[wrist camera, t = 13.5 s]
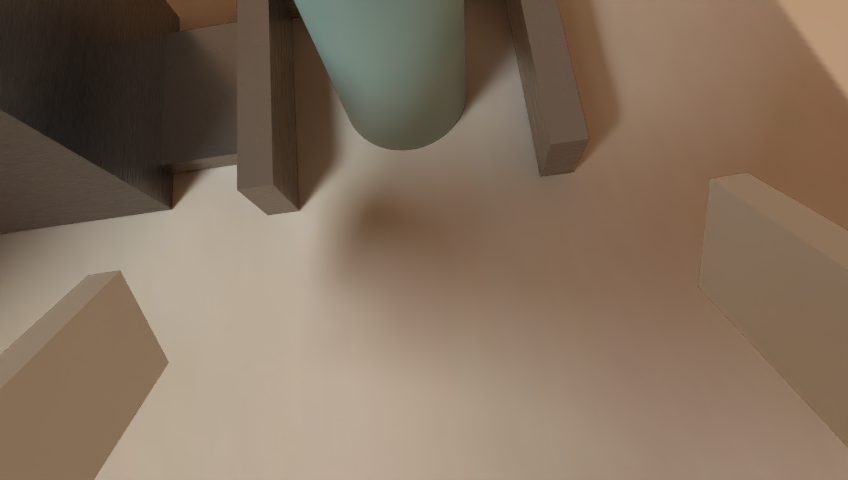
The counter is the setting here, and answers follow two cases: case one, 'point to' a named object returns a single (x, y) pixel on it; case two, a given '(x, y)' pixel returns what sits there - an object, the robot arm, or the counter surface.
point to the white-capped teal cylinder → (393, 65)
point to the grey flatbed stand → (193, 104)
